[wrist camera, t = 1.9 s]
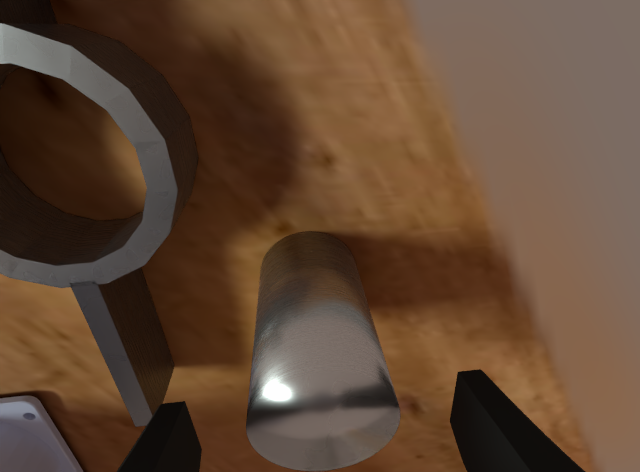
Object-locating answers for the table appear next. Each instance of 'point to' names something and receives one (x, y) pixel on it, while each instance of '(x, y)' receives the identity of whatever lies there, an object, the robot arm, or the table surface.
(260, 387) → the hinge pin
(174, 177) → the hinge
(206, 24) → the table surface
